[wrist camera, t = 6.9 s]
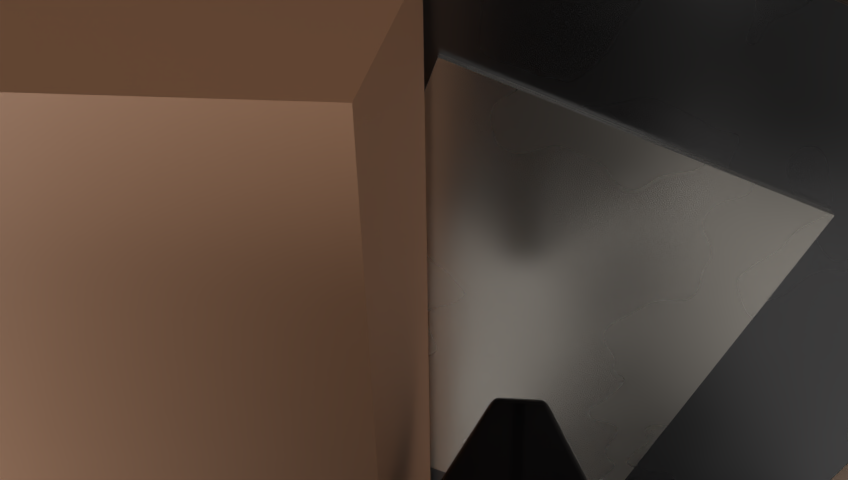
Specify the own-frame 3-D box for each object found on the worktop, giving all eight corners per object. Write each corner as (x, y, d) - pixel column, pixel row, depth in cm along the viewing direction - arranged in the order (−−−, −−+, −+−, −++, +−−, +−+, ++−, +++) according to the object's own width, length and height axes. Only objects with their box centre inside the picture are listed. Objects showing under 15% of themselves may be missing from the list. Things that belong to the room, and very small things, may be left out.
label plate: (1114, 107, 9) (1182, 150, 8) (591, 658, 16) (594, 715, 15) (280, -251, 8) (247, -250, 7) (115, 502, 15) (87, 553, 14)
